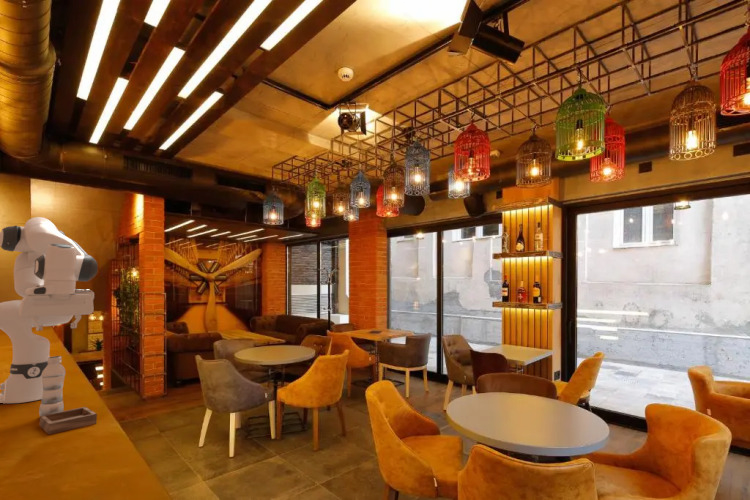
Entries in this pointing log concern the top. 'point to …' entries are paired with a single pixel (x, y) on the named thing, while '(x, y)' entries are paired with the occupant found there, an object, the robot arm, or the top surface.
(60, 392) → the silver metal bottle
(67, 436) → the top surface
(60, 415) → the walnut tray
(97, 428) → the top surface
